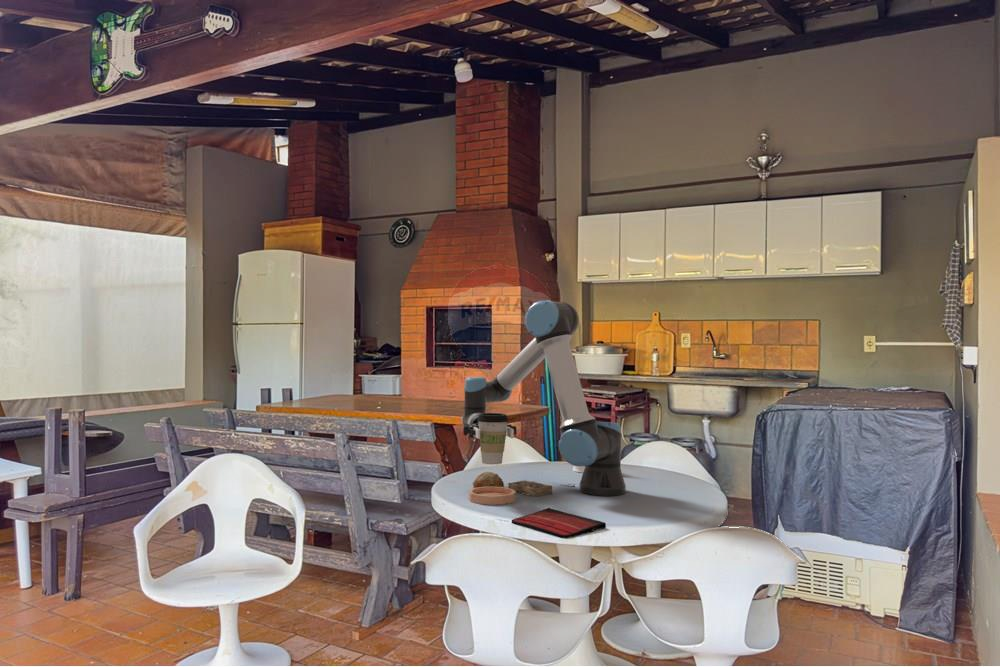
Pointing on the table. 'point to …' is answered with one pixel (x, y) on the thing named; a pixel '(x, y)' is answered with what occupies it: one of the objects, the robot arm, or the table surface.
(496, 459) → the coffee cup
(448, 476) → the table surface
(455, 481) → the table surface
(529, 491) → the pebble tray
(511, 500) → the dish
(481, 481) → the bread roll
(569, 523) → the binder
